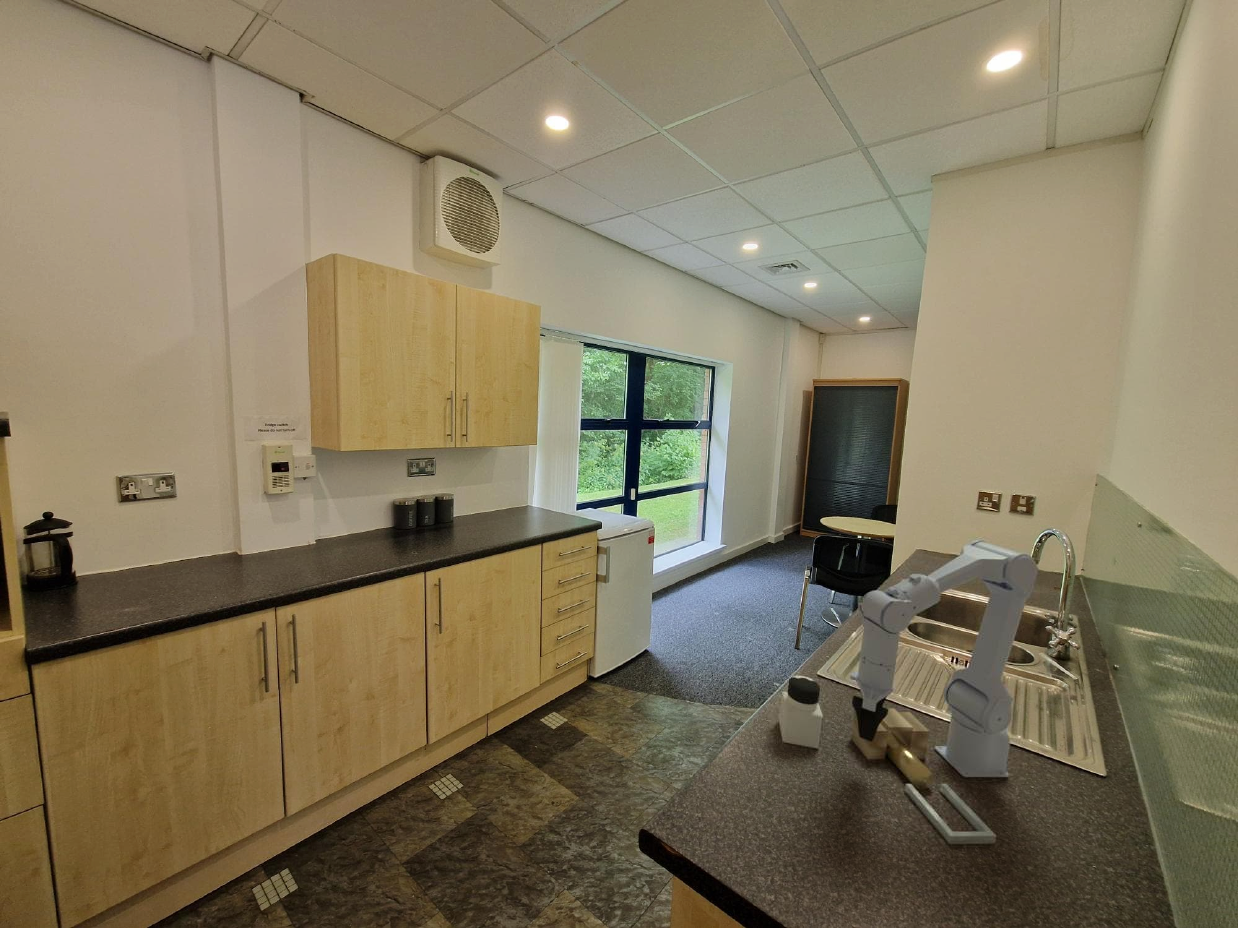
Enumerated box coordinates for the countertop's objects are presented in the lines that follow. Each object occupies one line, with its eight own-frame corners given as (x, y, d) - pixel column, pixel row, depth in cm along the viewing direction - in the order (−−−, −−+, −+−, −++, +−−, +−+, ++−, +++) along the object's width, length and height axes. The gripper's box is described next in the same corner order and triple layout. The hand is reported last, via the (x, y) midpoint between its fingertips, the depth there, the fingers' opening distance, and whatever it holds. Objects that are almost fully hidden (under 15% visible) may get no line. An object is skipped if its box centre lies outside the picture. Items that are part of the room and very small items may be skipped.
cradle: (945, 790, 90) (946, 783, 89) (994, 843, 79) (996, 835, 79) (904, 790, 89) (905, 783, 89) (949, 843, 78) (950, 836, 78)
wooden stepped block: (905, 738, 104) (909, 708, 103) (925, 758, 98) (930, 727, 97) (851, 738, 102) (855, 707, 102) (867, 758, 97) (872, 726, 96)
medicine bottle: (819, 749, 98) (826, 693, 97) (782, 742, 100) (788, 687, 98) (813, 727, 105) (819, 674, 104) (778, 721, 107) (784, 669, 105)
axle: (879, 751, 99) (879, 733, 99) (898, 749, 100) (898, 731, 99) (912, 790, 90) (913, 770, 89) (933, 788, 90) (934, 768, 89)
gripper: (859, 636, 97) (851, 700, 99) (847, 667, 85) (838, 739, 87) (900, 648, 94) (891, 714, 95) (893, 681, 81) (883, 756, 83)
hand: (868, 727), depth 91 cm, fingers open, 7 cm apart
